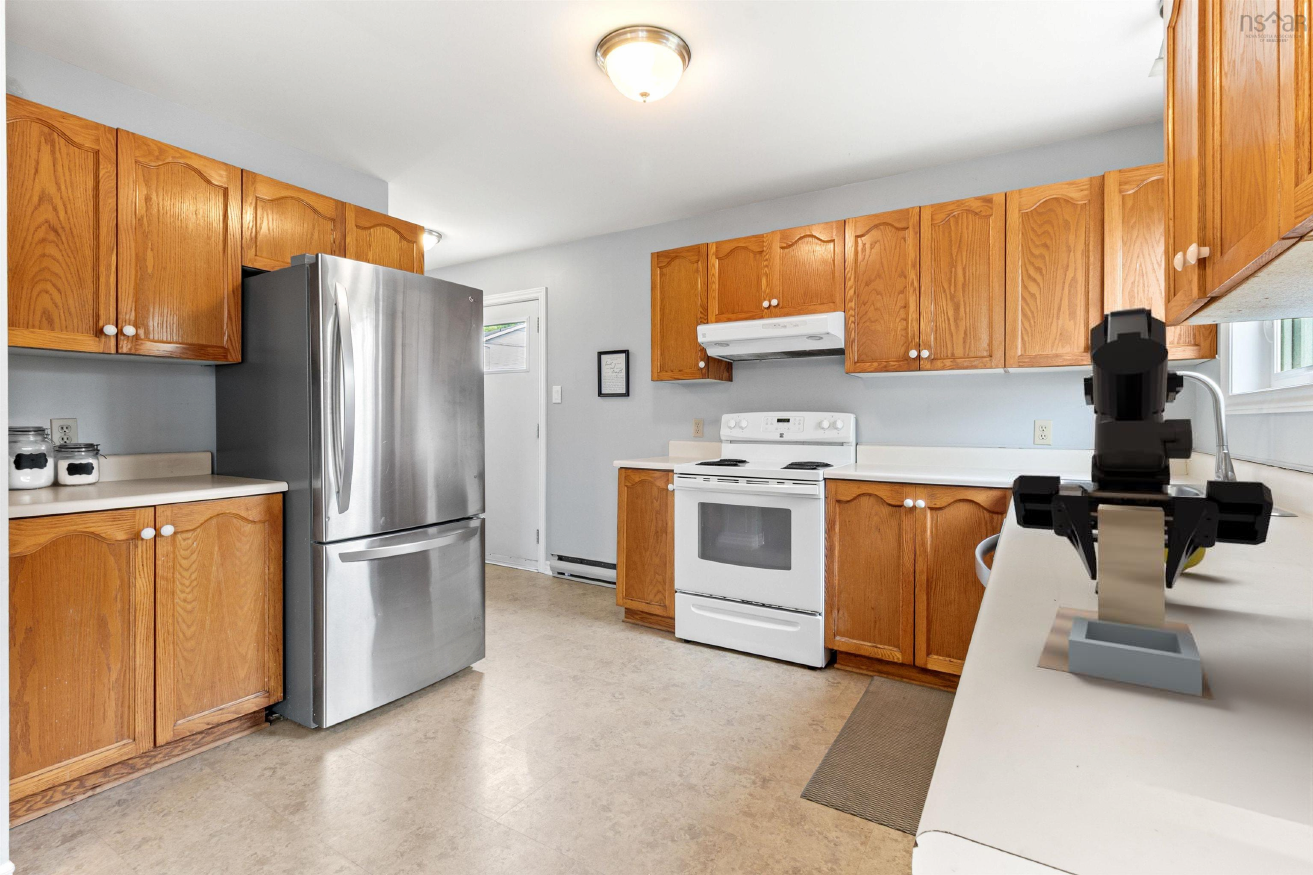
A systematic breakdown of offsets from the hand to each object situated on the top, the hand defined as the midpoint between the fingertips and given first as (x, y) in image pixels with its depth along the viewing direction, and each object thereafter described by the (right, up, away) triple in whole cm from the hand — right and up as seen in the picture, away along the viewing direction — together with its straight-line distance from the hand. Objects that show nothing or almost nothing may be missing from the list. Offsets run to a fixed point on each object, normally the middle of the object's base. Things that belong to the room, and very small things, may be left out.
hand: (1130, 581), depth 53 cm
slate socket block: (-3, -6, -4) cm, 8 cm away
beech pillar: (+1, -6, +1) cm, 6 cm away
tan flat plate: (0, -7, +2) cm, 7 cm away
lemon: (+34, -7, +35) cm, 49 cm away
